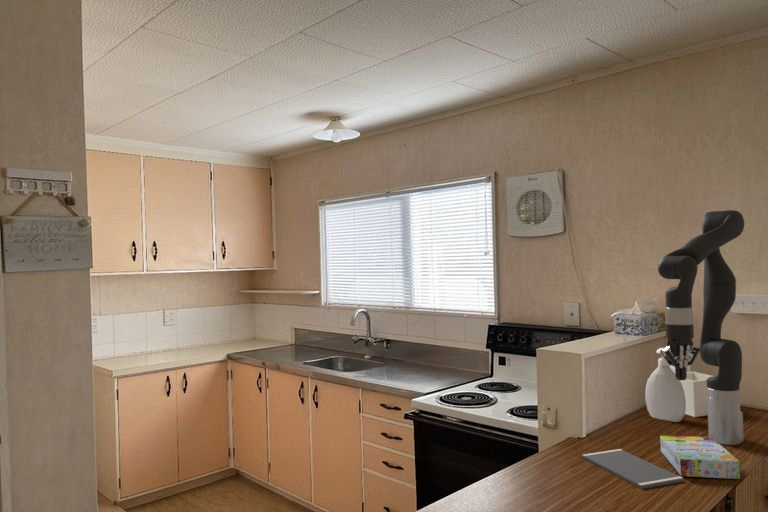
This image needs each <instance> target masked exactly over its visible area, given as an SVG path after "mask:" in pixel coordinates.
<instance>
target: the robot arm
mask: <svg viewBox="0 0 768 512" xmlns="http://www.w3.org/2000/svg"><path fill="white" fill-rule="evenodd" d="M701 222H702V223H701V231H702V234H698V235H697V236H695V237H693V238H692V239H690V240H688V241H687V242H686V243H685V244H684V245H683V246H682V247H681V248H678V249H675V250H674V251H671V252H670V253H667V254H666V255H664V256H663V257H662V258H661V259H660V260H659V263H658V265H657V271H658V274H659V275H660V276H661V277H662V278H663V279H664V280H665V279H666V280H679V282H678V284H677V286H672V287H669V288H666V290H665V312H664V313H665V314H664V320H665V321H664V322H665V323H664V324H665V337H666V338H667V341H666V347H664V348H665V349H664V350H661V351H660V352H661V354H660V355H661V356H662V355H663V357H664V358H665V359H666V361H667V362H668V364H669V366H670V365H672V366H674V367H675V376H676V378H677V380H686V377H687V371H686V368H687V366H688V365H690V366H692V365H693V363H694V362H695V360H696V357H698V355H699V356H700V358H701V361H702V362H703V363H704V364H706V365H709V366H711V367H712V366H714V367H717V368H718V373H717V374H716V375H712V376H713V377H709V378H708V379H707V406H708V415H707V430H708V436H707V437H712V438H713V439H714V440H715V441H717V442H718V443H719V444H720V445H728V446H729V445H730V446H732V445H735V446H736V445H740V444H742V442H744V435H745V434H744V412H743V411H741V399H740V398H741V397H740V396H741V395H740V394H741V393H740V385H741V381H742V373H743V353H742V348H741V346H740V344H739V342H737V341H735V340H733V339H726V338H725V339H724V338H722V325H723V322H724V320H725V317H726V316H727V315H728V313H729V311H730V310H731V309H732V307H733V305H734V303H735V302H736V301H735V300H736V297H737V296H736V294H737V279H736V276H735V274H734V273H733V270H731V268H730V266H729V265H728V263H727V262H726V261H725V259H724V257H723V255H722V253H721V248H720V247H723V246H724V245H726V244H728V243H730V242H731V241H733V240H735V239H737V238H738V237H739V236H741V234H742V233H743V231H744V229H745V219H744V216H743V214H742V213H741V212H740V211H738V210H732V209H730V210H728V209H727V210H716V211H714V210H713V211H712V210H711V211H708V212H706V213H705V214H704V215H703V218H702V221H701ZM702 262H703V263H704V264H703V265H704V266H703V284H702V285H703V290H702V291H703V308H702V309H703V310H702V324H701V325H702V326H701V333H700V340H699V341H700V342H699V347H696V346H695V345H694V341H693V339H694V337H695V332H694V330H695V329H694V328H695V327H694V313H693V303H692V302H693V300H692V299H693V297H692V294H693V289H694V285H695V281H696V278H697V273H698V268H699V267H698V266H699V265H700V264H701V263H702ZM688 360H689V361H688Z"/></svg>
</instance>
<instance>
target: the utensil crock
mask: <svg viewBox="0 0 768 512" xmlns="http://www.w3.org/2000/svg"><path fill="white" fill-rule="evenodd" d="M713 376H714V375H711V374H706V373H702V372H697V371H690V372H687V377H686V380H680V382H681V383H682V386H683V389H684V393H685V399H686V410H685V414H684V415H687V416H691V417H693V418H697V417H704V416H708V406H707V379H708V378H709V377H713Z"/></svg>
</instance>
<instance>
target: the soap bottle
mask: <svg viewBox="0 0 768 512" xmlns="http://www.w3.org/2000/svg"><path fill="white" fill-rule="evenodd" d="M665 348H666V347H659V348H658V349H657V350H656V352H655V353H656V354H660V355H661V357H659V358H658V359H657V362H658V363H657V364H658V365H657V368H655V370H654V371H652V373H651V374H650V376H649V377H648V379H647V381H646V385H645V392H644V393H645V395H644V396H645V405H646V409H647V412H648V413H649V415H650V417H651V418H654V419H657V420H662V421H666V422H674V423H680V422H681V421H682V420H683V418H684V416H685V415H686V414H685V410H686V399H685V393H684V389H683V386H682V383H681V382H680V380H677V378H676V376H675V373H674V372H673V370H672V369H671V368H670V365H669V364H668V362H667V361H666V359H665V358H664V357H663V355H662V354H661V352H660V351H661V350H664V349H665Z"/></svg>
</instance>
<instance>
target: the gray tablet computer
mask: <svg viewBox="0 0 768 512" xmlns="http://www.w3.org/2000/svg"><path fill="white" fill-rule="evenodd" d="M580 457H581V458H582V459H584V460H586V461H588V462H590V463H592V464H593V465H595V466H597V467H599V468H601V469H603V470H605V471H607V472H609V473H610V474H613V475H615V476H616V477H618V478H620V479H622V480H623V481H624V480H625V482H628V483H630V484H631V485H633V486H635V487H637V488H639V489H641V490H645V489H650V488H655V487H661V486H662V487H663V486H668V485H673V484H679V483H684V482H685V481H686V480H685V478H684V476H681V475H680V476H679V475H678V474H675V473H673V472H671V471H669V470H667V469H665V468H662V467H660V466H658V465H655V464H654V463H651V462H649V461H647V460H644V459H642V458H640V457H638V456H635V455H633V454H632V453H629V452H627V451H625V450H624V449H622V448H615V449H608V450H603V451H597V452H589V453H584V454H581V456H580Z"/></svg>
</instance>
